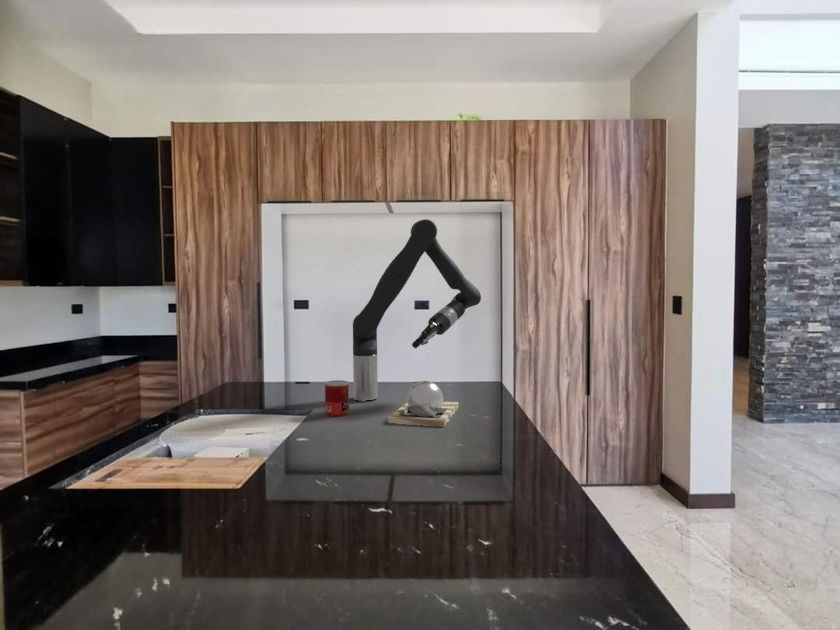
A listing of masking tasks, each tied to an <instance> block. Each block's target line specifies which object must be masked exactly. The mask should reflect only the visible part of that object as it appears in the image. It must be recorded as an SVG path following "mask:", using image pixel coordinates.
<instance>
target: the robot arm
mask: <svg viewBox="0 0 840 630" xmlns="http://www.w3.org/2000/svg"><path fill="white" fill-rule="evenodd" d="M437 235H438V228H437V225H436V223H435V222H434V221H433V220H432V219H426V218H425V219H420V220H418V221H416V222H414V223H413V224H412V226H411V228H410V236H409V238H408V240H407V241H406V243H405V245H404V247H403V248H402V249H401V251H399V253H398V254H397V255H396V256H394V258H393V260H392V261H391V262H390V263H389V265H388V266H386V269H385V270H384V272H383V274H382V275H381V276H380V279H379V280H378V282H377V284H376V286H375V288H374V291H373V292H372V293H373V294H372V295H371V297H370V299H369V300H368V302H367V304H366V305H365V306H364V308H363V309H362V310H361V311H360V313H358V314H357V315H356V316H355V317H354V319H353V321H352V368H353V369H352V370H353V371H352V372H353V373H352V375H353V382H352V383H353V385H352V386H353V388H352V389H353V400H354V401H356V400H358V401H357V402H367V401H366V400H373V399H376V398H377V397H378V387H379V385H378V331H377V330H378V327H379V325H380V323H381V321H382V319H383V317H384V315H385V314H386V312H387V310H388V308H390V306H391V305H392V303H393V302H395V300H396V298H397V297H398V296H399V295H400V293H401V291H402V290H403V289H404V287H405V285H406V284H407V282H408V281H409V279H410V277H411V276H412V273H413V272H414V270H415V268H416V267H417V265H418V262H419V260H420V259H421V258H422V256H423V254H424V253H425V254H426V255H427V256H428V258H430V260H431V262H432V263H433V264H434V266H435V267H436V269H437V270H438V271H439V274H440V275H441V276H442V278H443V279H444V281H445V282H446V284H447V285H448V287H449V288H450V289H452V290H457V291H459V292H458V293H456V295H454V297H453V298H452V300H451V301H450V302H449V303H447V304H446V305H445V306H443V308H441V309H440V310H438V311H437V312H436V313H434V314H433V315H432V316H431V317H430V318H428V323H427V324H428V325H427V326H425V328H424V329H423V330H422V331H421V334H419V336H418V337H417V338H416V339H415V340H414V341H413V342H411V346H412V347H413V348H414V349H418V348H419V347H420V346H424V345H427V344H428V343H429V341H430V340H431V339H433V338H434V337H435V336H436V335H438V336H441V335H444V334H445V333H446V332H447V331H448V330H449V329H450V328H451V327H452V326H454V325H455V324H456V322H457V321H458V320H460V319H461V318H462V316H463V315H464V314H465V312H466V310H467V309H468V308H472V307H475V306H477V305H479V304H480V303H481V300H482V296H481V292H480V290H479V289H478V288H477V286H475V285H474V283H472V282H471V281H470V280H469V279H467V278H466V277H465V275H464V274H463V272H462V271H461V270H460V267H458V265H457V263H455V261H454V260H453V259H452V258H451V257H450V256H449V254H448V253H446V251H445V249H443V247H442V246H441V244H440V243H439V241H438V239H437ZM376 400H377V399H376ZM373 401H374V400H373Z"/></svg>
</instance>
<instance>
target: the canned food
mask: <svg viewBox="0 0 840 630" xmlns="http://www.w3.org/2000/svg"><path fill="white" fill-rule="evenodd" d="M349 384H350V383H349V381H347V380H344V379H343V380H339V379H337V380H336V379H335V380H328V381H325V383H324V397H325V398H324V402H325V403H324V407H325V415H326V416H327V417H331V416H332V418H333V417H334V418H337V417H344V416H347V415H349V412H350V403H349V401H350V397H349V396H350V394H349V393H350V392H349V391H350V388H349V387H350V386H349Z"/></svg>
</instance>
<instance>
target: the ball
mask: <svg viewBox="0 0 840 630" xmlns="http://www.w3.org/2000/svg"><path fill="white" fill-rule="evenodd" d="M443 401H444V394H443V392H442V390H441V388H440V386H438V384H436V383H434V381H429V380H420V381H417V382H416V383H414V384H413V385H412V386H411V387H410V389H409V390H408V392H407V398H406V403H407V402H408V406H409V408H410V410H411V411H412V412H411V413H413V414H414V415H416V416H418V417H420V418H431V417H432V416H436V414H437V412H438V411H439V410H440V408H441V407H442V404H443Z"/></svg>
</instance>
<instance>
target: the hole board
mask: <svg viewBox="0 0 840 630" xmlns="http://www.w3.org/2000/svg"><path fill="white" fill-rule="evenodd" d="M459 405H460V403H459V401H446V400H443V404H442V407H441V408H440V410H439V411H438V412H437V413H443V414H442V415H441V416H440V417H439V418H435V417H433V418H432V417H420V416H418V417H417V416H405V415H406V414H408V413H409V412H408V411H411V410H410V408H409V406H408V402H407V401H406V402H405V403H404V404H403V405H402V406H400V407H399V408H398V409H397V410H396V411H394V412H393V413H392V414H390V415H389V416H388V418H387V419H388V424H389V423H396V424H395V425H404V424H406V425H407V426H408V425H409V426H420V425H423V427H435V426H439V427H438V428H445V427H444V426H446V425H447V424H448V423H447V422H450V420H451V419H452V417H453V416H454V415H455V413H456V412H457V411H456V410H458V409H459V408H458V407H459ZM457 408H458V409H457ZM455 411H456V412H455ZM437 413H436V414H437ZM404 414H405V415H404ZM453 414H454V415H453ZM403 415H404V416H403ZM452 415H453V416H452ZM450 418H451V419H450Z"/></svg>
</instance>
